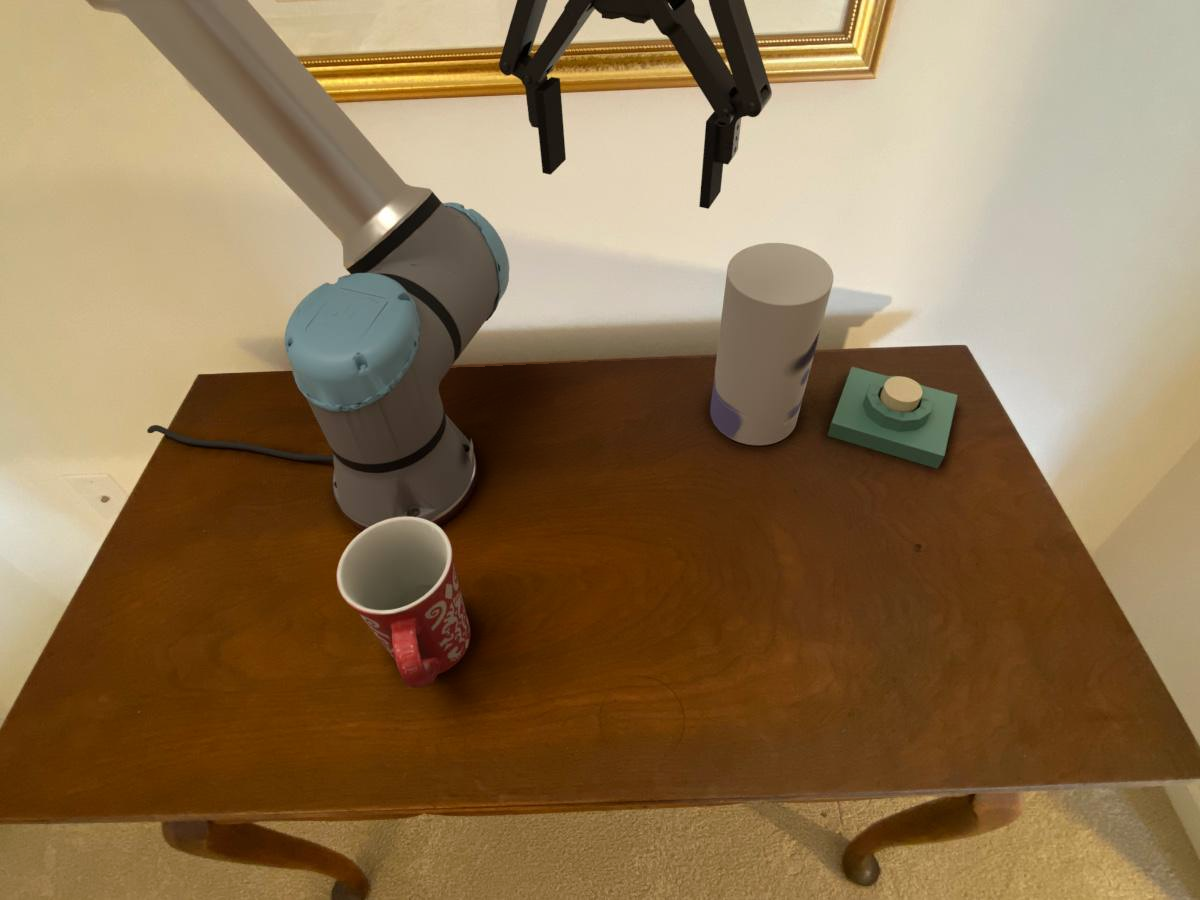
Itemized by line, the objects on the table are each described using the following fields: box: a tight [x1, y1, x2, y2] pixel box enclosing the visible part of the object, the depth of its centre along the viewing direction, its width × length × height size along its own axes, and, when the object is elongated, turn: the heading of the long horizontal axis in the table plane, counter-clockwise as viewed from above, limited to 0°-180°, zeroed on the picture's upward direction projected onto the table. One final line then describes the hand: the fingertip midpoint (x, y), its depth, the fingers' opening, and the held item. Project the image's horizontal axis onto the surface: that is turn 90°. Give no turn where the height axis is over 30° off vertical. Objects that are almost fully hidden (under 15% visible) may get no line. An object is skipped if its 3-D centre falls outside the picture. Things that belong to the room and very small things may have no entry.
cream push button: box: [880, 375, 923, 413], centre depth 78 cm, size 4×4×2 cm
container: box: [709, 242, 835, 446], centre depth 76 cm, size 10×10×20 cm
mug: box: [335, 516, 471, 689], centre depth 60 cm, size 13×9×14 cm
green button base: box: [827, 366, 958, 470], centre depth 80 cm, size 12×10×4 cm
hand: (629, 182), depth 57 cm, fingers open, 13 cm apart
